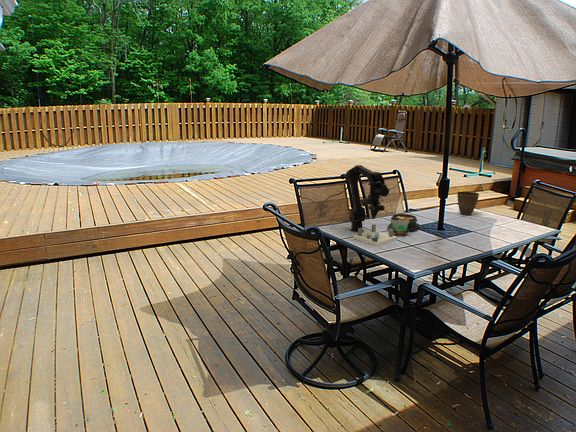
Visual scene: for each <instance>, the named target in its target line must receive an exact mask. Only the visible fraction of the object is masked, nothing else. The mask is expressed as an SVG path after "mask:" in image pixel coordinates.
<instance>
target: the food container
mask: <svg viewBox="0 0 576 432" xmlns="http://www.w3.org/2000/svg"><path fill="white" fill-rule="evenodd" d="M390 223H391V229H393V236H397V237H406V236H407V232H408V231H407V227H408V223H409V219H408V218H407V219H406V220H401V219H399V220H392V219H391V218H390Z"/></svg>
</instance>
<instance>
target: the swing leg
mask: <svg viewBox="0 0 576 432" xmlns="http://www.w3.org/2000/svg"><path fill="white" fill-rule="evenodd" d="M379 232H380V231H378V232H375V237H371V235H367V238H368V239H372V238H377V239H379Z"/></svg>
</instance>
